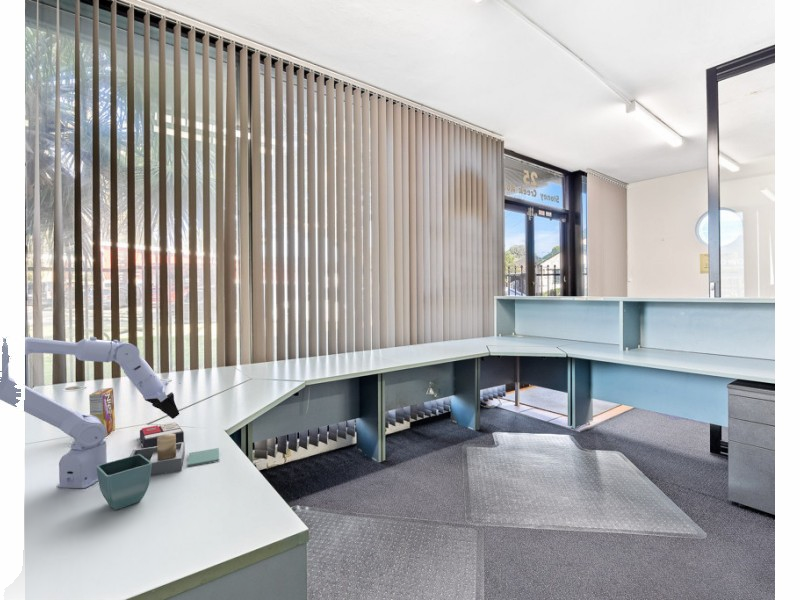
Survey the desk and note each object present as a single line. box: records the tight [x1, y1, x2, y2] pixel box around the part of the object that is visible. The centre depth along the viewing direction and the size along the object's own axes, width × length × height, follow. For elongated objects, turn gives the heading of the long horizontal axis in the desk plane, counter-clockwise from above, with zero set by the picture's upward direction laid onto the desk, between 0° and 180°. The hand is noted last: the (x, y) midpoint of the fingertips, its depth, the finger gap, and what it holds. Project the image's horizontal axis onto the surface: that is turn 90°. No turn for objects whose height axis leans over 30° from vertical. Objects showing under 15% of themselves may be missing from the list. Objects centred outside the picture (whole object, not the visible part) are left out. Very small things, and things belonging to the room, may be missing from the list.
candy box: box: [88, 387, 116, 438], centre depth 133 cm, size 9×4×15 cm, turn 17°
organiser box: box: [129, 441, 186, 478], centre depth 107 cm, size 13×13×4 cm
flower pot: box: [96, 454, 152, 511], centre depth 88 cm, size 9×9×9 cm
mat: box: [186, 447, 220, 468], centre depth 112 cm, size 8×9×1 cm
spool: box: [157, 434, 176, 461], centre depth 108 cm, size 4×4×6 cm
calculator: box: [139, 421, 185, 448], centre depth 127 cm, size 11×4×15 cm
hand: (172, 413), depth 114 cm, fingers open, 7 cm apart
